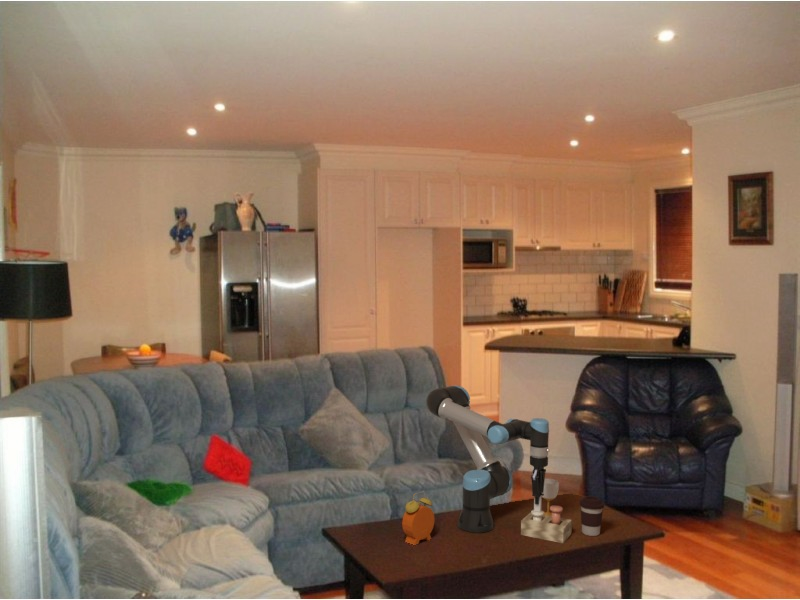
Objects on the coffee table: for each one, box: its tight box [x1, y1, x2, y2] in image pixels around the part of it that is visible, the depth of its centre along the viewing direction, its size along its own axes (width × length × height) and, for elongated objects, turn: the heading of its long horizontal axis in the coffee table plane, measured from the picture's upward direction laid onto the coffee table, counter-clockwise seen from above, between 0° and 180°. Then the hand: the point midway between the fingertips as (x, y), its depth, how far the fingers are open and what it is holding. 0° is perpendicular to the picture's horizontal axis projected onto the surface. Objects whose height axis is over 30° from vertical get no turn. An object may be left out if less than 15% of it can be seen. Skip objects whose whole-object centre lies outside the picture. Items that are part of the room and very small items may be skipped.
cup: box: [541, 477, 560, 516], centre depth 334 cm, size 9×9×16 cm
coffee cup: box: [579, 495, 605, 537], centre depth 314 cm, size 10×10×15 cm
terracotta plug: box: [549, 504, 564, 525], centre depth 310 cm, size 5×5×8 cm
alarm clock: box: [401, 490, 436, 546], centre depth 302 cm, size 13×6×20 cm, turn 134°
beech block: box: [520, 512, 573, 544], centre depth 312 cm, size 18×12×6 cm, turn 61°
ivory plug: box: [531, 509, 545, 521], centre depth 314 cm, size 5×5×8 cm
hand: (537, 511), depth 314 cm, fingers closed
